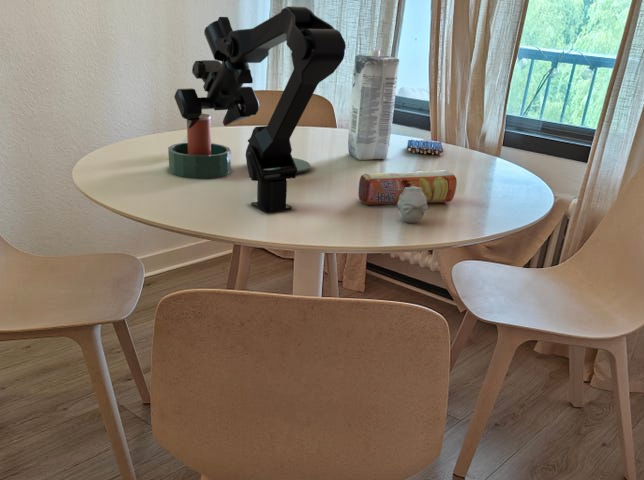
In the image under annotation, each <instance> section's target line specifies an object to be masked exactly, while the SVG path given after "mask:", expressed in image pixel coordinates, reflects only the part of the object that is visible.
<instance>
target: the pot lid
mask: <svg viewBox="0 0 644 480" xmlns="http://www.w3.org/2000/svg"><path fill="white" fill-rule="evenodd" d="M292 158H293V160H294V163H295V165H296V167H297V174H298V173H299V174H300V173H303V172H307V171H309V170H310V169H311V164H310V162H308V161H307V160H304V159H302V158H301V159H300V158H297V157H292ZM275 169H280V168H271V169H263V170H264V171H266V170H275Z"/></svg>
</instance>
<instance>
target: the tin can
mask: <svg viewBox="0 0 644 480" xmlns="http://www.w3.org/2000/svg"><path fill="white" fill-rule="evenodd" d="M199 118H200V119H199V120H198V121H197V122H196V123H195V124H194V125H193V126H192V127H191V128H188V126H187V125H186V136H187V143H188V155H211V143H212V121H211V120H212V116H211V115H210V114H208V113H202V114H201V116H200V117H199Z"/></svg>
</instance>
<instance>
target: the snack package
mask: <svg viewBox="0 0 644 480" xmlns="http://www.w3.org/2000/svg"><path fill="white" fill-rule="evenodd" d="M457 185H458V184H457V177H456V175H455V174H454V173H453V172H452V171H450V170H448V169H444V170H442V169H441V170H424V171H423V170H422V171H404V172H403V171H402V172H381V173H363V174H361V175H360V177H359V182H358V198H359V201H360V202H361V203H363V204H364V205H367V206H368V205H370V206H371V205H387V204H388V205H390V204H391V205H394V204H395V205H397V203H398V201H399V196H400V195H401V194H402V193H403V192H404V189H405V187H408V188H409V187H411V186H413V187H414V186H415V187H420V188H421V189H422V192H423V193H424V196H425V197H426V202H427V204H429V203H451V202H452V201H453V199H454V198H455V196H456V195H455V194H456V190H457Z"/></svg>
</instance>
